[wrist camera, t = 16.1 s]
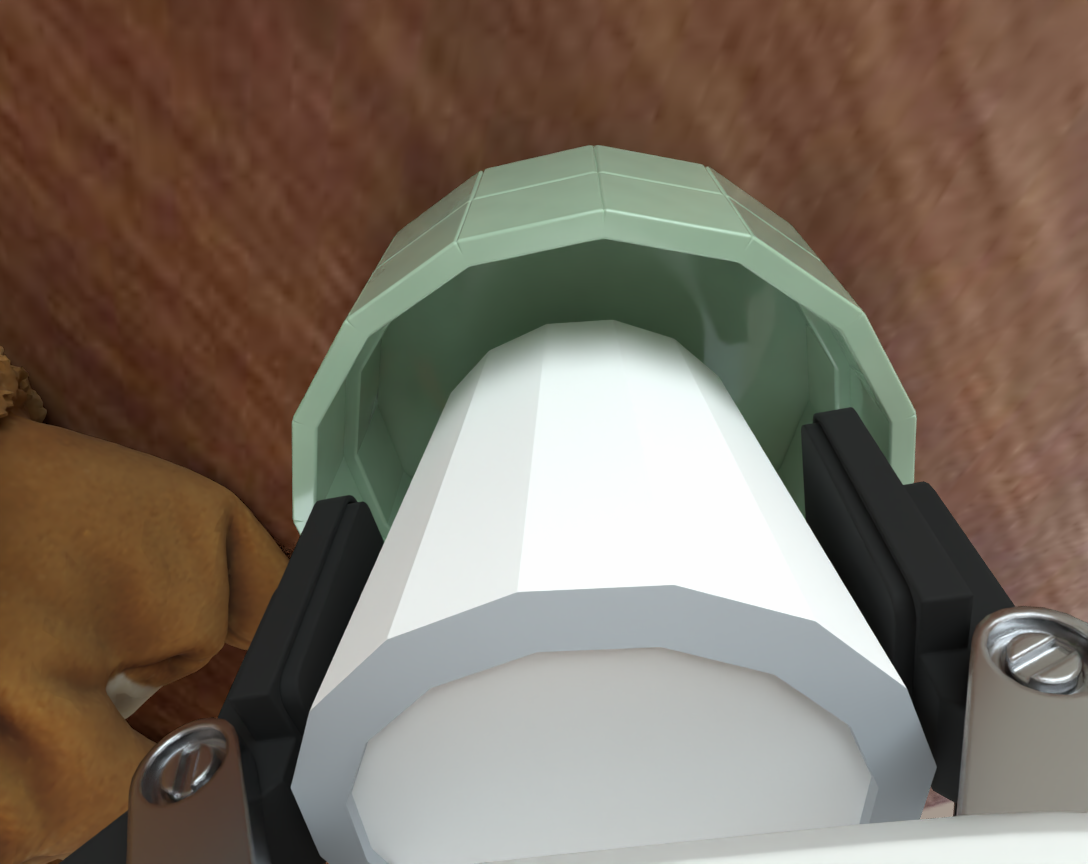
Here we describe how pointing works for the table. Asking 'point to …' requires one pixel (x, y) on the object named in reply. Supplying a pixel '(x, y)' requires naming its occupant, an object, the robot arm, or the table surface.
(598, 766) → the white round jar
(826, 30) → the table surface
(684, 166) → the green bowl
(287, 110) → the table surface
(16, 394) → the stuffed squirrel
